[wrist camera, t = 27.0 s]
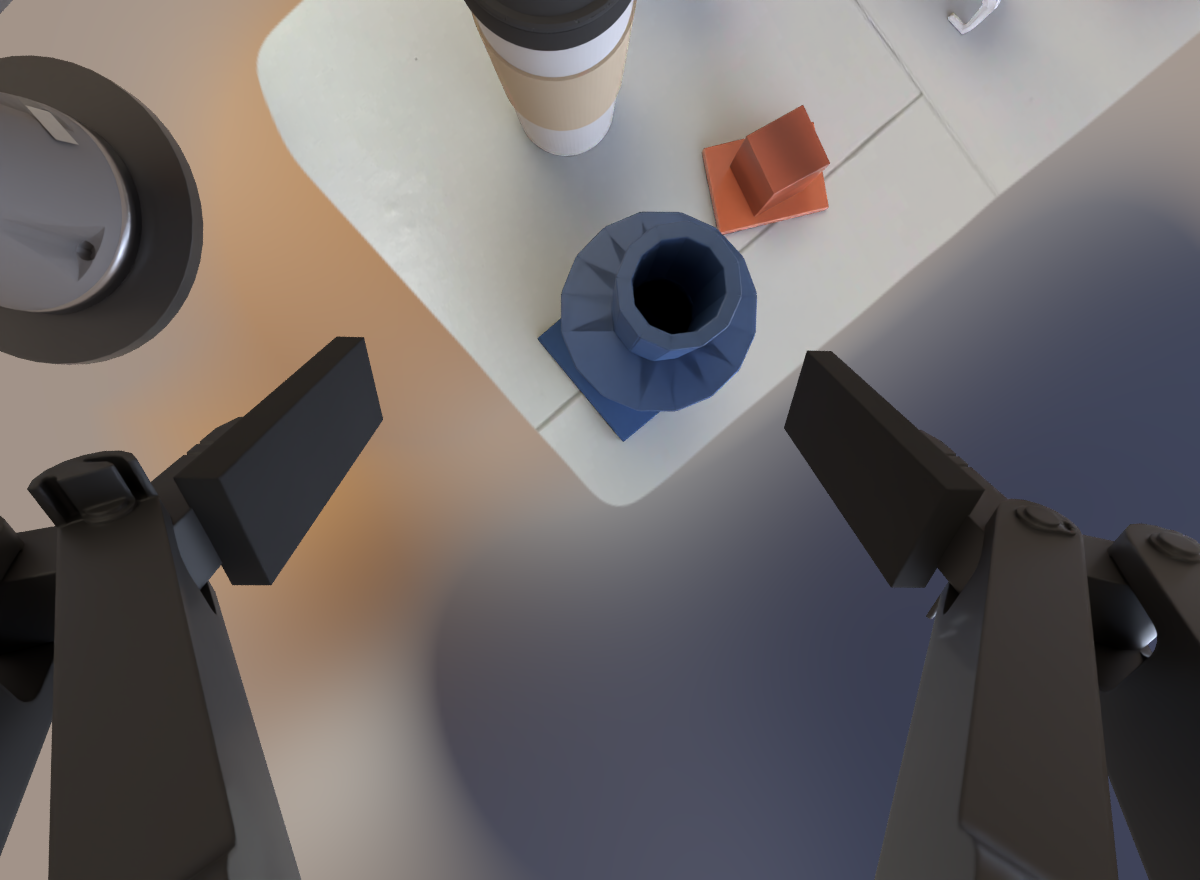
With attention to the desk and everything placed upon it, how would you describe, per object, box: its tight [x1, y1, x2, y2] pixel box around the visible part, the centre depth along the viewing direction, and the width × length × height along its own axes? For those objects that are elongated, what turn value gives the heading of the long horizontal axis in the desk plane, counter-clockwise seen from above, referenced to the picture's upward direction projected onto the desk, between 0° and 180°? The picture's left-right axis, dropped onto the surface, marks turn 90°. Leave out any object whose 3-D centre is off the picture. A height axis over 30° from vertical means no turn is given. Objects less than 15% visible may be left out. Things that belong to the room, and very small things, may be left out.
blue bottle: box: [561, 212, 757, 411], centre depth 25 cm, size 8×8×21 cm
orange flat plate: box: [702, 122, 829, 235], centre depth 35 cm, size 8×6×1 cm
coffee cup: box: [464, 0, 636, 156], centre depth 27 cm, size 9×9×15 cm
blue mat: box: [538, 319, 660, 441], centre depth 36 cm, size 10×10×1 cm
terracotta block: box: [730, 105, 830, 217], centre depth 32 cm, size 4×4×4 cm
